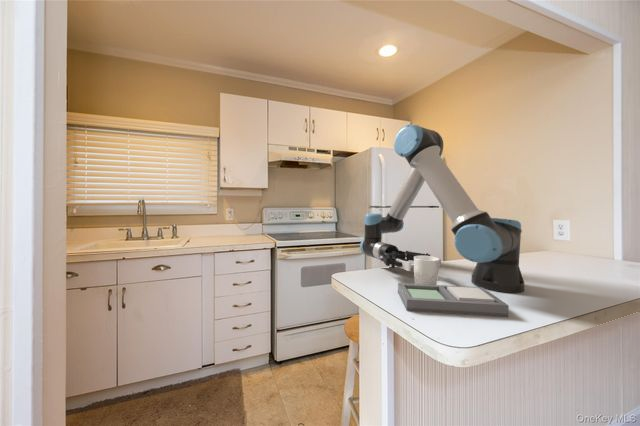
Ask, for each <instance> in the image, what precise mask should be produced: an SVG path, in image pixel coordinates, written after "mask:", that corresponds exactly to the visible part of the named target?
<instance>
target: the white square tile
mask: <svg viewBox="0 0 640 426" xmlns="http://www.w3.org/2000/svg"><path fill="white" fill-rule="evenodd" d="M446 286H447V290H448V291H449V292H450V293H451V294H452V295H453V296H454V297H455V298H456V299H457V300H462V301H480V302H494V301H495V299H493V298H492V297H490V296H489V295H488V294H486V293H485V292H483V291H482V290H481V289H479V288H471V287H472V286H465V287H451V286H452V285H446Z"/></svg>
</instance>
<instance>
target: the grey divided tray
mask: <svg viewBox="0 0 640 426" xmlns="http://www.w3.org/2000/svg"><path fill="white" fill-rule="evenodd" d="M447 286H448V285H443V284H441V285H440V284H437V285H425V284H415V283H404V282H402V283H400V282H399V283H397V293H398V295H399V297H400V300H401V302H402V304H403V306H404V308H405V310H406V311H408V312H409V311H410V312H425V313H442V314H456V315H472V316H473V315H475V316H487V317H488V316H489V317H490V316H491V317H503V318H504V317H505V318H507V317H509V304H507V303H506V302H505V301H503V300H502V299H500V298H499V297H497V296H496V295H494V294H493V293H491V292H490V291H488V289H486V288H483V287H479V286H470V287H471V288H479V289H481V290H482V291H483V292H485V293H486V294H488V295H489V296H490V297H492V298H493V299H495V301H494V302H480V301H462V300H457V299H456V298H455V297H454V296H453V295H452V294H451V293H450V292H449V291H448V290H447ZM450 286H451V287H466V286H463V285H462V286H461V285H460V286H459V285H450ZM407 289H422V290H437V291H438V292H439V293H440V294H441V295H442V296H443V298H444V299H427V298H412V297H411V296H410V294H409V292H408V291H407Z"/></svg>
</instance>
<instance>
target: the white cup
mask: <svg viewBox="0 0 640 426" xmlns="http://www.w3.org/2000/svg"><path fill="white" fill-rule="evenodd" d="M439 259H440V258H439V257H435V256H431V255H430V256H423V255H419V256H414V261H413V276H414V277H413V278H414V284H425V285H438V279H439V277H438V276H439V268H440V267H439Z"/></svg>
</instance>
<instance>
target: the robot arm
mask: <svg viewBox="0 0 640 426" xmlns="http://www.w3.org/2000/svg"><path fill="white" fill-rule="evenodd" d="M393 148H394V152H395V153H396V154H397V155H398V156H399V157H402V158H405V160H406V162H407V163H408V164H409V166H410V170H409V171H408V173H407V175H406V178H405V179H404V181H403V183H402V185H401V187H400V188H399V191H398V193H397V194H396V196H395V199H394V201H393V202H392V204H391V206H390V208H389V209H388V212H387V214H386V216H384V217H383V214H382V213H378V212H377V213H374V212H373V213H370V212H369V213H366V214H365V217H364V239H362V240H361V241H360V244H359V250H360V252H361V253H363V254H364V255H366V256H368V257H372V258H373V259H377V260H380V262H383V263H384V265H385V266H386V267H389V266H391V268H392V269H395V268H398V269H402V270H405V271H407V272H411V262H414V256H419V255H423V256H431V254H429V253H428V252H427V253H422V252H421V253H420V252H415V251H410V250H405V251H402V250H399V248H398V247H397V246H396V245H394V244H390V243H387V242H382V235H383V234H389V233H390V234H391V233H393V234H394V233H397V232H401V231H402V230H403V229H404V218H405V217H406V215H407V213H408V211H409V210H410V208H411V206H412V204H413V202H414V201H415V199H416V197H417V196H418V194H419V192H420V190H421V188H422V187H423V185H424V183H425V182H426V184H427V186H428V187H429V189H430V190H431V192H432V194H433V195H434V197H435V198H436V200H437V201H438V203H439V204H440V206H441V207H442V209H443V210H444V212H445V214H446V216H447V217H448V218H449V220H450V221H451V222H452V224H451V227H450V231H451V232H452V233H453V235H454V247H455V249H456V251H457V252H458V253H459V255H460V256H462V257H463V258H464V259H465V260H467V261H470V262H473V263H476V264H475V267H474V269H473V271H472V274H471V278H470V279H471V281H470V282H471V283H472V284H473V285H475V286H476V287H483V288H484V289H485V290H490V291H495V292H501V293H508V294H509V293H511V294H512V293H522V292H524V291H525V281H524V278H523V275H522V271H521V269H520V256H521V255H520V253H521V240H522V235H521V234H522V233H523V232H522V231H523V230H522V224H521V222H520V221H519V220H515V219H507V218H498V217H491V216H490V214H489V213H488V211H487V210H486V211H485V210H481V209H479V208H478V207H477V205H476V204H475V203H474V202H473V199H472V198H471V197H470V196H469V195H468V193H467V191H466V190H465V189H464V188H463V186H462V184H461V183H460V182H459V180H458V179H457V177H456V176H455V175H454V173H453V172H452V170H451V169H450V168H449V166H448V165H447V163H446V162H445V161H444V159H443V158H442V155H443V151H444V139H443V137H442V136H441V134H440V133H439V132H438V131H435V130H432V129H429V128H427V127H423V126H420V125H418V124H407V125H404V126H403V127H402V128H400V129H399V131H398V132H397V133H396V135H395V138H394V141H393ZM409 261H411V262H409ZM441 265H442V259H440V258H439V268H441Z"/></svg>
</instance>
